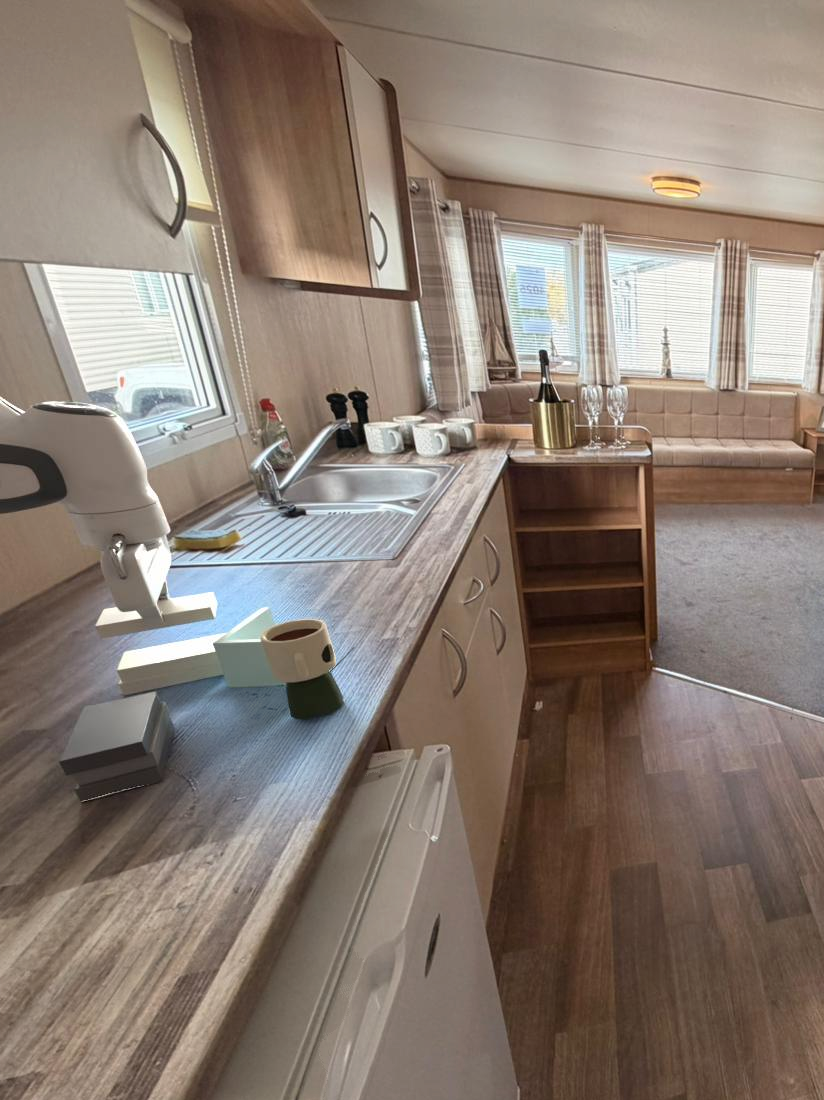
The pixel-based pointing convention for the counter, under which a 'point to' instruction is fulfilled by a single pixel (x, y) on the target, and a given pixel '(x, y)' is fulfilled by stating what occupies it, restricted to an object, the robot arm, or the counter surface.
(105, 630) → the cream flat block
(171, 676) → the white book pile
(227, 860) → the counter surface
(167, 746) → the grey book pile
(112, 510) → the robot arm
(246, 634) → the l-shaped corner panel
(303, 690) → the character mug
